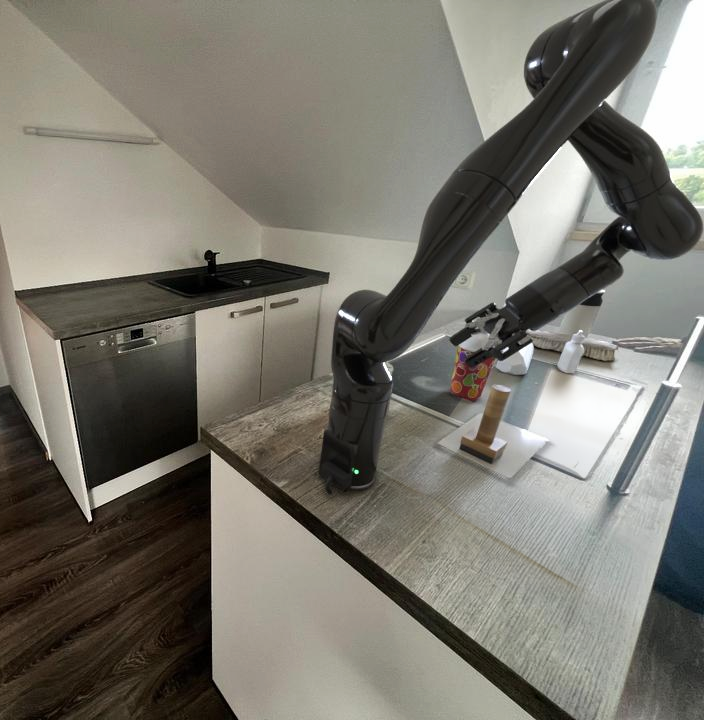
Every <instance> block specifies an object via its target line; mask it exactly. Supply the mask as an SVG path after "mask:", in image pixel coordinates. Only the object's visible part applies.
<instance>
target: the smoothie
mask: <svg viewBox="0 0 704 720" xmlns="http://www.w3.org/2000/svg"><path fill="white" fill-rule="evenodd" d="M484 324H485V323H484ZM471 335H472V334H471ZM488 337H489V334H483V333H480V334H476V335H472V337H471V338H469V339H467V340H466V341H464V342H463V343H461V344H459V345H458V346H457V350H456V355H455V360H454V365H453V369H452V376H451V381H450V386H449V389H450V391H451V392H450V393H451V395H454V396H457V397H459V398H461V399H465V400H467V401H470V402H476V401H477V400H478V398H481V397H482V394H483V391H484V389H485V386H486V384H487V381H488V379H489V377H490V374H491V371H492V369H493V367H494V364H495V361H496V360H497V359H496V358H489V359H487V360H486V361H484V362H482V363H480V364H479V365H477V366H475V367H472V368H470V367H468V365H467V364H466V363H465V362H464V358H466V357H467V356H469V355H471V354H472V353H474V352H475V351H477V350H479V349H480V348H482V349H483V348H484V346H485V345H486V344H487V342H488V341H489V339H488ZM494 347H495V346H493V348H494Z"/></svg>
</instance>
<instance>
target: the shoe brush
mask: <svg viewBox="0 0 704 720" xmlns="http://www.w3.org/2000/svg"><path fill="white" fill-rule="evenodd" d="M526 333H527V334H528V335H529V336H530V337H531V339H532V340H533V342H532V344H533V346H535V347H537V348H541V349H542V350H545V349H546V350H552V351H556V352H561V353H562V351H563V349H564V346H565V344H566V343H567V342H571V339H572V337H573V336H571V335H565V334H558V332H551V331H543V330H539V329H538V330H536V331H531V330H529V329H528V330H527V331H526ZM581 344H582V345H583V348H584V351H583V354H582V356H581V357H584V356H585V357H586V358H588V357H589V359H594V360H598V361H599V360H601V361H603V362H608V361H609V362H611V361H615V358H616V357H615V354H616V353H615V352H616V351H618V350H619V346H617V345H615V344H613V343H611V342H607V341H603V340H599V339H595V338H594V339H593V338H589V337H588V338H584V339H583V342H582V343H581Z"/></svg>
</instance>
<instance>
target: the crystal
mask: <svg viewBox="0 0 704 720" xmlns="http://www.w3.org/2000/svg"><path fill="white" fill-rule="evenodd" d="M534 348H535V347H534V346H533V344H532V343H531V344H529V345H527V346H526V347H524V348H523V349H521V350H519V351H518V352H516V353H515V354H513V355H511V356H510V357H508V358H507V359H505V360H503V361H499V360H498V359H497V360H498V361H496V364H495V366H494V367H495V368H496V369H498V370H499V371H500V372H502V373H506V374H509V375H514V376H520V375H521V376H522V375H527V372H528V370H529V367H530V364H531V361H532V359H533V356H534ZM508 349H509V348H508V347H507V348H505V349H503V350H502V353H504V352H505V351H507V350H508Z"/></svg>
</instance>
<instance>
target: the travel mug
mask: <svg viewBox="0 0 704 720" xmlns="http://www.w3.org/2000/svg"><path fill="white" fill-rule="evenodd" d="M606 292H607V291H606V290H605V289H603V290H601V291H599V292H598V293H596V294H594V295H592V296H591V297H589V298H588V299H586V300H585V301H583V302H582V303H581V304H579V305H578V306H577V307H575V308H574V309H572V310H570V311H569V312H567V313H565V314H564V316H563V319H562V321H561V323H560V327H559V329H558V332H557V333H558V334H565V335H571V336H573V335H574V334H577V333H578V332H579V331H582V335H583V336H584V338H589V336H590V333H591V331H592V329H593V326H594V324H595V321H596V320H597V319H596V318H597V316H598V314H599V312H600V309H601V306H602V304H603V295H604V294H605V293H606Z"/></svg>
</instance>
